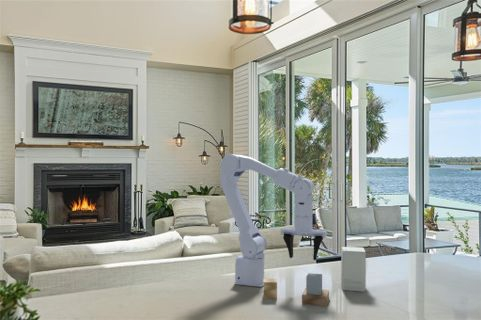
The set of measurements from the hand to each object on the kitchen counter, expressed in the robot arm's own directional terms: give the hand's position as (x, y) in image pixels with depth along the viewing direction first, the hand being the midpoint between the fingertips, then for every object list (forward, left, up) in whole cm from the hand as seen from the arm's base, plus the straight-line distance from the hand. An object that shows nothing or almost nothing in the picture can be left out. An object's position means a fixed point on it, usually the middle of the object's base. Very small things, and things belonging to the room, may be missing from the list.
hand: (303, 258), depth 135 cm
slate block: (+5, -11, -7) cm, 14 cm away
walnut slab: (+6, -10, -10) cm, 16 cm away
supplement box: (+15, +7, -10) cm, 19 cm away
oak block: (-8, -11, -10) cm, 17 cm away
